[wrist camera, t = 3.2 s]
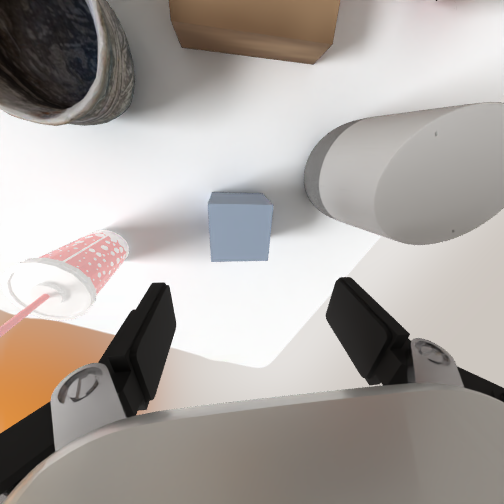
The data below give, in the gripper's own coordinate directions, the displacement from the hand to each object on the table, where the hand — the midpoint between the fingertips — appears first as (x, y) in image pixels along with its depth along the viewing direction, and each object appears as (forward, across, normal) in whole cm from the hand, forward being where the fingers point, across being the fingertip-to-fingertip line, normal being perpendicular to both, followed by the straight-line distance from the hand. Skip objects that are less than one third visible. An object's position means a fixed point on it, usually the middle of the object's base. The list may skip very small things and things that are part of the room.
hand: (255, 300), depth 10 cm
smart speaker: (+15, -11, -6) cm, 20 cm away
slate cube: (+15, 0, 0) cm, 15 cm away
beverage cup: (+15, +16, +4) cm, 22 cm away
